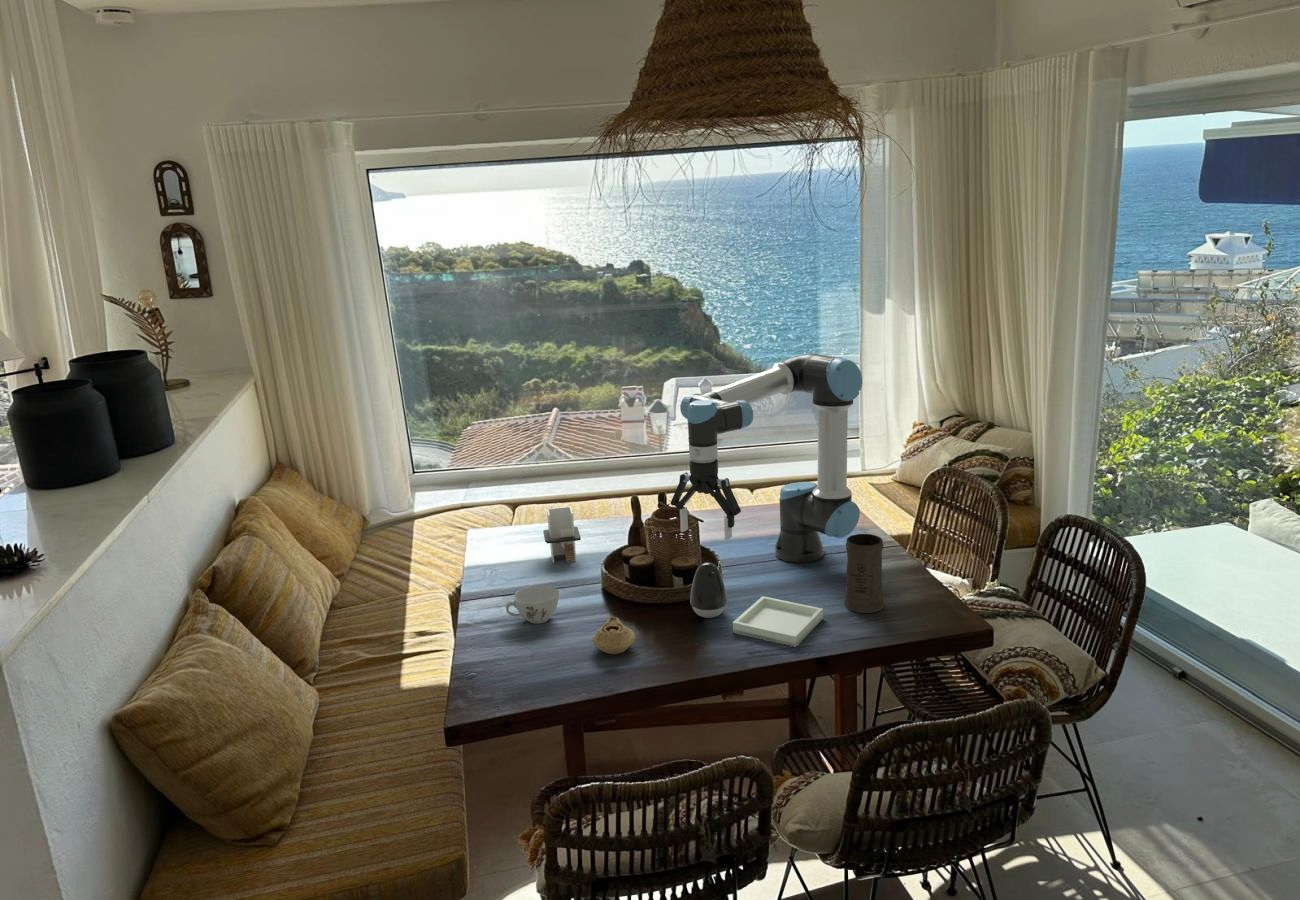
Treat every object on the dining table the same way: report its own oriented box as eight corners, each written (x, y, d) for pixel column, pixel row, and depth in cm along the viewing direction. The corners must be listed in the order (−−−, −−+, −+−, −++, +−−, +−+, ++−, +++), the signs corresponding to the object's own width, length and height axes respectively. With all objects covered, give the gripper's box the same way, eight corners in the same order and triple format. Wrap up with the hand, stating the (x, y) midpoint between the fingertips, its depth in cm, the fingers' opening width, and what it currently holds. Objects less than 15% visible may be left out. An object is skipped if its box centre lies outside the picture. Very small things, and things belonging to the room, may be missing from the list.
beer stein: (884, 615, 255) (885, 544, 250) (844, 613, 257) (844, 543, 253) (882, 595, 269) (883, 528, 265) (844, 593, 272) (844, 527, 267)
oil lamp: (627, 631, 254) (626, 604, 252) (641, 657, 240) (639, 628, 238) (587, 638, 251) (585, 610, 249) (598, 664, 237) (596, 635, 235)
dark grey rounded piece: (697, 625, 255) (695, 573, 251) (686, 609, 265) (683, 559, 261) (733, 618, 258) (731, 567, 254) (720, 603, 267) (718, 553, 263)
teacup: (555, 606, 271) (553, 580, 269) (565, 624, 260) (563, 597, 257) (503, 616, 267) (501, 590, 265) (511, 634, 255) (508, 607, 253)
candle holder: (527, 578, 292) (522, 528, 288) (523, 549, 315) (518, 503, 311) (606, 568, 296) (603, 519, 292) (597, 541, 319) (593, 495, 315)
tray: (762, 605, 264) (762, 596, 264) (822, 618, 255) (822, 608, 254) (732, 632, 250) (732, 622, 249) (795, 647, 240) (795, 636, 240)
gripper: (656, 457, 252) (659, 531, 258) (739, 468, 239) (741, 546, 245) (670, 450, 258) (673, 523, 264) (752, 460, 245) (753, 536, 251)
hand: (706, 534), depth 255 cm, fingers open, 13 cm apart
